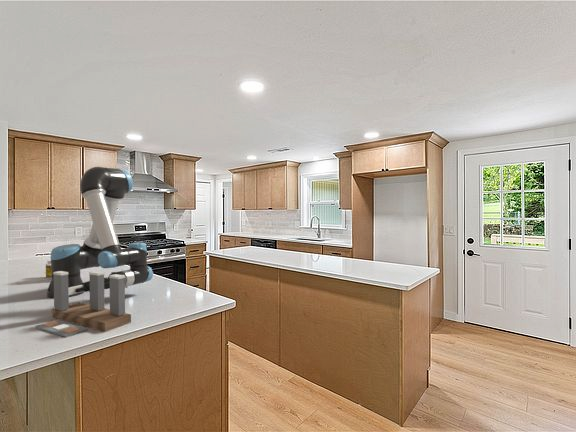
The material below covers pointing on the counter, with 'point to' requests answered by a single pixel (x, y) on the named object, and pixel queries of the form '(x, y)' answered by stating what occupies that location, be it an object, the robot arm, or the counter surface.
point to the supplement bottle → (48, 269)
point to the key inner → (61, 290)
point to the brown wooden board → (92, 317)
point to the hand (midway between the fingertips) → (65, 292)
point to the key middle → (96, 290)
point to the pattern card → (61, 328)
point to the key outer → (117, 294)
